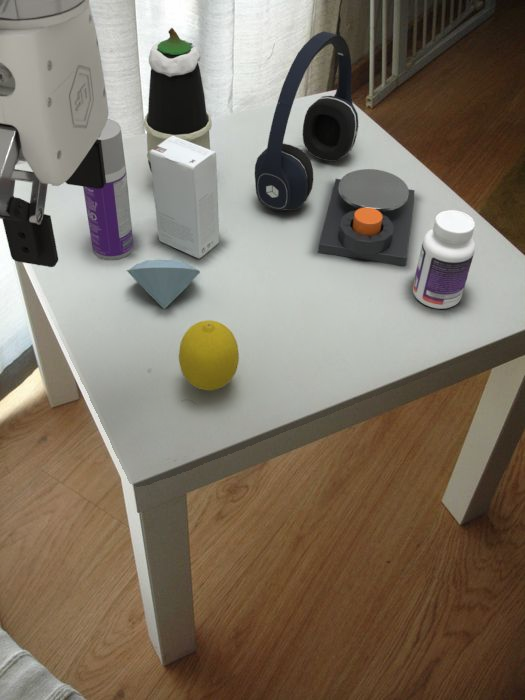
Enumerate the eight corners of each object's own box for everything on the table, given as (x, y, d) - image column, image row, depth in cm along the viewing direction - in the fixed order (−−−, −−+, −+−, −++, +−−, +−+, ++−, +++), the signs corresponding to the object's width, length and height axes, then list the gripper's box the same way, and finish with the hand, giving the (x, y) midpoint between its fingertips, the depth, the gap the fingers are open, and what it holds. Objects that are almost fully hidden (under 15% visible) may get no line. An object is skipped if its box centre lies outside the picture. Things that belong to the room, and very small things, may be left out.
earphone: (314, 137, 108) (327, 3, 96) (360, 151, 106) (380, 16, 93) (244, 209, 96) (248, 66, 83) (294, 227, 94) (307, 82, 81)
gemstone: (192, 306, 78) (192, 256, 78) (118, 307, 79) (118, 258, 79) (206, 311, 86) (206, 265, 86) (138, 312, 87) (138, 267, 87)
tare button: (381, 222, 91) (383, 209, 89) (378, 238, 88) (381, 225, 87) (354, 217, 91) (356, 205, 90) (350, 234, 89) (352, 221, 88)
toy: (140, 199, 96) (127, 39, 82) (157, 165, 102) (147, 9, 88) (204, 208, 96) (202, 47, 82) (218, 172, 101) (217, 17, 87)
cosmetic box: (220, 242, 91) (220, 150, 82) (197, 262, 88) (195, 168, 80) (178, 223, 93) (174, 131, 85) (154, 242, 91) (147, 149, 82)
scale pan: (410, 178, 97) (411, 174, 96) (405, 216, 91) (406, 213, 91) (343, 168, 98) (343, 164, 97) (333, 205, 92) (334, 202, 92)
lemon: (194, 414, 73) (192, 354, 67) (171, 375, 76) (167, 314, 70) (248, 395, 75) (250, 335, 69) (222, 357, 78) (223, 297, 72)
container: (84, 253, 89) (65, 134, 78) (105, 230, 92) (90, 113, 81) (120, 264, 88) (107, 145, 77) (140, 241, 91) (130, 123, 80)
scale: (413, 198, 99) (417, 177, 97) (404, 269, 89) (408, 248, 87) (334, 186, 100) (337, 166, 98) (317, 255, 90) (319, 234, 88)
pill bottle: (471, 299, 86) (493, 226, 79) (435, 316, 83) (454, 243, 77) (437, 272, 89) (455, 199, 82) (401, 288, 87) (417, 215, 80)
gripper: (20, 49, 39) (67, 306, 51) (129, -64, 51) (146, 166, 63) (-120, 31, 40) (-41, 288, 52) (20, -76, 52) (57, 153, 64)
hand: (62, 220), depth 57 cm, fingers open, 9 cm apart
